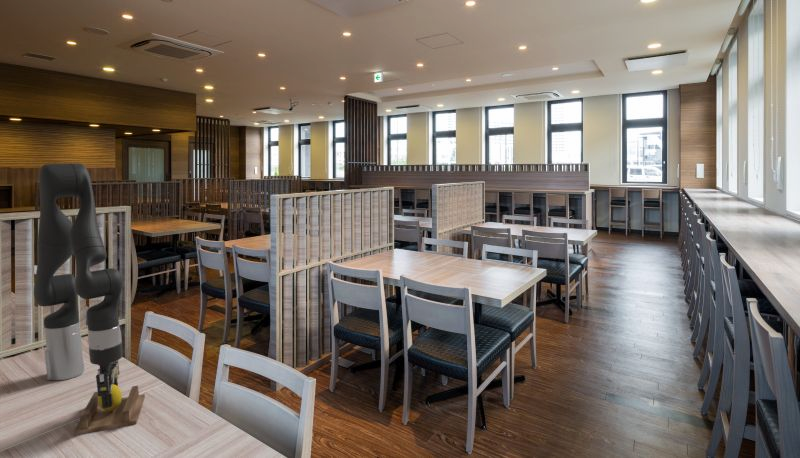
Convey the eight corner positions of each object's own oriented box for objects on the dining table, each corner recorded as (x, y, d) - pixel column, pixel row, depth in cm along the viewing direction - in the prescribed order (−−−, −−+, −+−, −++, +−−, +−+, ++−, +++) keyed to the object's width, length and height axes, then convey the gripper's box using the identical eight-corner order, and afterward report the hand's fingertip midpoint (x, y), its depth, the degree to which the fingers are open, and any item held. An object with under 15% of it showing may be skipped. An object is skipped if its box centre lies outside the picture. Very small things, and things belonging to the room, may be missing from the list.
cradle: (74, 435, 117) (72, 420, 116) (89, 406, 131) (88, 393, 130) (136, 423, 122) (135, 409, 121) (144, 397, 136) (143, 384, 135)
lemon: (109, 405, 129) (106, 378, 128) (128, 405, 129) (124, 379, 127) (95, 416, 124) (91, 389, 122) (114, 417, 123) (110, 389, 122)
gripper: (95, 335, 129) (101, 390, 131) (81, 355, 115) (87, 416, 118) (126, 332, 131) (131, 386, 134) (115, 350, 118) (121, 410, 120)
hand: (110, 400), depth 126 cm, fingers open, 7 cm apart
